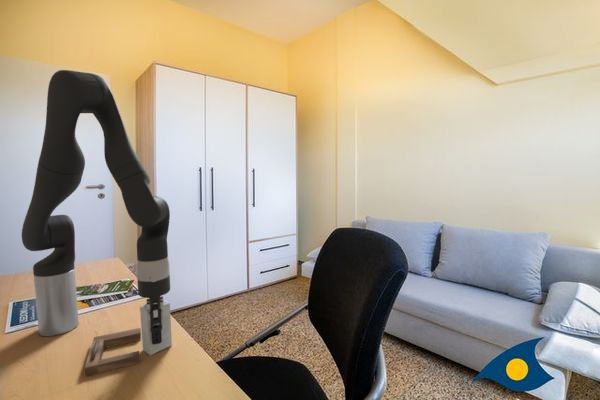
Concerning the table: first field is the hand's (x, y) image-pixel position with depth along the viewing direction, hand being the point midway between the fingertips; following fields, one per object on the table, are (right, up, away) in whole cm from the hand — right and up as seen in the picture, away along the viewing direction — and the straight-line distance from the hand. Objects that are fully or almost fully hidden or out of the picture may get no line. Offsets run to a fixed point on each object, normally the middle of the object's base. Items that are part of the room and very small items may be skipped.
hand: (156, 336), depth 80 cm
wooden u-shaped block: (-9, -3, -2) cm, 10 cm away
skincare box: (0, -3, 0) cm, 3 cm away
